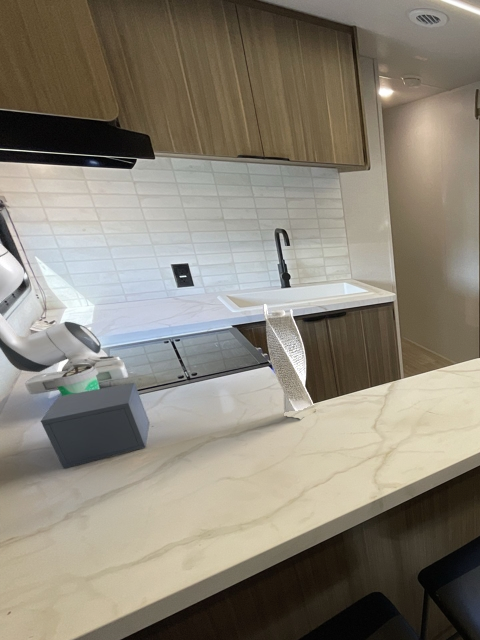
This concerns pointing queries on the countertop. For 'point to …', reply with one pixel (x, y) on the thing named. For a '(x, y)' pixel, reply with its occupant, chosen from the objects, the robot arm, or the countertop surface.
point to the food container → (78, 380)
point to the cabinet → (96, 424)
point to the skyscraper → (287, 358)
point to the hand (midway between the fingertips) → (74, 385)
